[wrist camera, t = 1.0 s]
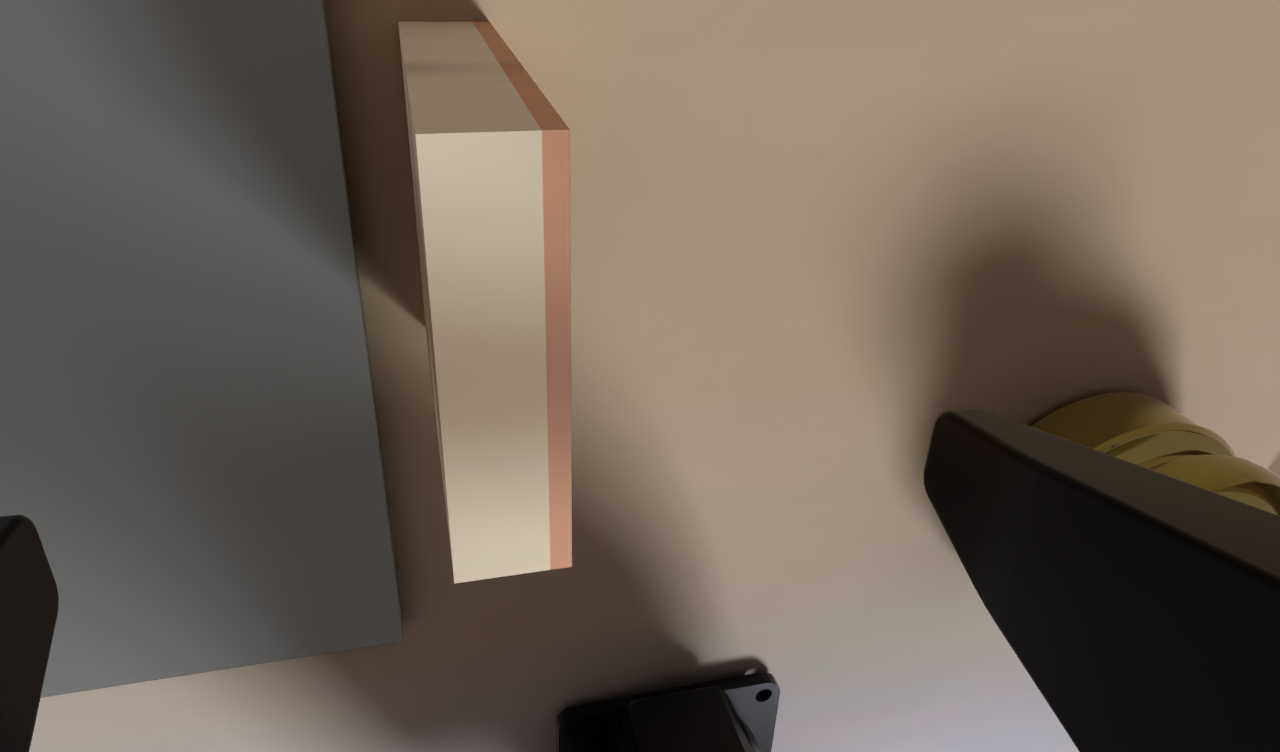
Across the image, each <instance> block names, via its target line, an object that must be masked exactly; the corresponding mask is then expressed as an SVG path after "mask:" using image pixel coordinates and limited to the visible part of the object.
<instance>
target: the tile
mask: <svg viewBox="0 0 1280 752" xmlns="http://www.w3.org/2000/svg"><path fill="white" fill-rule="evenodd" d="M398 27H399V38H400V49H401V60H402V71H403V82H404V94H405V105H406V116H407V127H408V138H409V149H410V160H411V171H412V182H413V193H414V204H415V215H416V226H417V237H418V248H419V259H420V270H421V281H422V292H423V303H424V315H425V326H426V335H427V344H428V353H429V362H430V371H431V380H432V389H433V397H434V406H435V415H436V424H437V433H438V442H439V451H440V460H441V469H442V478H443V487H444V496H445V505H446V514H447V523H448V531H449V540H450V549H451V558H452V567H453V576H454V584H455V583H462V582H469V581H476V580H483V579H490V578H497V577H504V576H511V575H518V574H525V573H532V572H539V571H546V570H553V569H560V568H567V567H572V474H571V281H570V129H569V128H568V127H567V125H566V124H565V123H564V121H563V120H562V119H561V117H560V116H559V115H558V113H557V112H556V111H555V109H554V108H553V107H552V105H551V104H550V102H549V101H548V100H547V98H546V97H545V96H544V94H543V93H542V92H541V90H540V89H539V88H538V86H537V85H536V84H535V82H534V81H533V80H532V78H531V77H530V76H529V74H528V73H527V72H526V70H525V69H524V68H523V66H522V65H521V64H520V62H519V61H518V60H517V58H516V57H515V56H514V54H513V53H512V51H511V50H510V49H509V47H508V46H507V45H506V43H505V42H504V41H503V39H502V38H501V37H500V35H499V34H498V33H497V31H496V30H495V29H494V27H493V26H492V25H491V23H490V22H489V21H481V22H398Z"/></svg>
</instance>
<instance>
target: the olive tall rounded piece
mask: <svg viewBox="0 0 1280 752" xmlns="http://www.w3.org/2000/svg"><path fill="white" fill-rule="evenodd" d="M1031 427H1033V428H1036V429H1039V430H1042V431H1044V432H1047V433H1050V434H1053V435H1056V436H1058V437H1061V438H1064V439H1067V440H1070V441H1072V442H1075V443H1078V444H1081V445H1084V446H1086V447H1089V448H1092V449H1095V450H1097V451H1100V452H1103V453H1106V454H1109V455H1111V456H1114V457H1117V458H1120V459H1123V460H1125V461H1128V462H1131V463H1134V464H1137V465H1139V466H1142V467H1145V468H1148V469H1150V470H1153V471H1156V472H1159V473H1162V474H1164V475H1167V476H1170V477H1173V478H1176V479H1178V480H1181V481H1184V482H1187V483H1189V484H1192V485H1195V486H1198V487H1201V488H1203V489H1206V490H1209V491H1212V492H1215V493H1217V494H1220V495H1223V496H1226V497H1229V498H1231V499H1234V500H1237V501H1240V502H1242V503H1245V504H1248V505H1251V506H1254V507H1256V508H1259V509H1262V510H1265V511H1268V512H1270V513H1273V514H1276V515H1279V516H1280V476H1278V475H1276V474H1275V473H1273V472H1272V471H1270V470H1267V469H1265V468H1263V467H1261V466H1259V465H1257V464H1255V463H1253V462H1250V461H1248V460H1245V459H1242V458H1238V457H1236V456H1235V454H1234V452H1233V450H1232V449H1231V447H1230V446H1229V445H1228V444H1227V442H1226V441H1225V440H1224V439H1223V438H1221V437H1220V436H1219V435H1217V434H1216V433H1214V432H1212V431H1211V430H1208V429H1206V428H1203V427H1200V426H1198V425H1197V424H1195V423H1194V422H1193V421H1191V420H1190V419H1188V418H1187V417H1185V416H1184V415H1182V414H1181V413H1179V412H1178V411H1177V410H1175V409H1174V408H1172V407H1171V406H1169V405H1168V404H1166V403H1165V402H1163V401H1161V400H1159V399H1157V398H1155V397H1152V396H1149V395H1145V394H1140V393H1131V392H1115V393H1107V394H1101V395H1096V396H1092V397H1088V398H1085V399H1082V400H1079V401H1076V402H1074V403H1071V404H1069V405H1066V406H1064V407H1062V408H1060V409H1058V410H1056V411H1054V412H1052V413H1051V414H1049V415H1047V416H1046V417H1044V418H1042V419H1041V420H1039V421H1038V422H1036V423H1035V424H1033V425H1032V426H1031Z"/></svg>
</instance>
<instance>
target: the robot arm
mask: <svg viewBox="0 0 1280 752" xmlns="http://www.w3.org/2000/svg"><path fill="white" fill-rule="evenodd" d="M924 485H925V489H926V492H927V495H928V497H929V499H930V501H931V503H932V505H933V507H934V509H935V511H936V513H937V515H938V517H939V519H940V521H941V523H942V524H943V526H944V528H945V530H946V532H947V534H948V536H949V538H950V540H951V542H952V544H953V546H954V548H955V550H956V552H957V554H958V556H959V558H960V560H961V562H962V564H963V565H964V567H965V569H966V571H967V573H968V575H969V577H970V579H971V581H972V583H973V585H974V587H975V589H976V590H977V592H978V594H979V596H980V598H981V600H982V601H983V603H984V605H985V607H986V608H987V610H988V611H989V613H990V615H991V616H992V618H993V620H994V621H995V623H996V624H997V626H998V627H999V629H1000V630H1001V632H1002V634H1003V635H1004V637H1005V638H1006V640H1007V641H1008V643H1009V644H1010V646H1011V647H1012V649H1013V650H1014V652H1015V653H1016V655H1017V657H1018V658H1019V660H1020V661H1021V663H1022V664H1023V666H1024V667H1025V669H1026V670H1027V672H1028V673H1029V675H1030V676H1031V678H1032V680H1033V681H1034V683H1035V684H1036V686H1037V687H1038V689H1039V690H1040V692H1041V693H1042V695H1043V696H1044V698H1045V699H1046V701H1047V703H1048V704H1049V706H1050V707H1051V709H1052V710H1053V712H1054V713H1055V715H1056V716H1057V718H1058V719H1059V721H1060V722H1061V724H1062V726H1063V727H1064V729H1065V730H1066V732H1067V733H1068V735H1069V736H1070V738H1071V739H1072V741H1073V742H1074V744H1075V745H1076V747H1077V748H1078V750H1079V752H1280V516H1279V515H1276V514H1273V513H1270V512H1268V511H1265V510H1262V509H1259V508H1256V507H1254V506H1251V505H1248V504H1245V503H1242V502H1240V501H1237V500H1234V499H1231V498H1229V497H1226V496H1223V495H1220V494H1217V493H1215V492H1212V491H1209V490H1206V489H1203V488H1201V487H1198V486H1195V485H1192V484H1189V483H1187V482H1184V481H1181V480H1178V479H1176V478H1173V477H1170V476H1167V475H1164V474H1162V473H1159V472H1156V471H1153V470H1150V469H1148V468H1145V467H1142V466H1139V465H1137V464H1134V463H1131V462H1128V461H1125V460H1123V459H1120V458H1117V457H1114V456H1111V455H1109V454H1106V453H1103V452H1100V451H1097V450H1095V449H1092V448H1089V447H1086V446H1084V445H1081V444H1078V443H1075V442H1072V441H1070V440H1067V439H1064V438H1061V437H1058V436H1056V435H1053V434H1050V433H1047V432H1044V431H1042V430H1039V429H1036V428H1033V427H1031V426H1028V425H1025V424H1022V423H1019V422H1017V421H1014V420H1011V419H1008V418H1005V417H1003V416H1000V415H997V414H994V413H992V412H989V411H986V410H983V409H980V408H975V407H969V408H961V409H952V410H946V411H943V412H942V413H940V414H939V415H938V417H937V418H936V420H935V423H934V427H933V432H932V436H931V441H930V446H929V450H928V455H927V459H926V464H925V469H924ZM58 607H59V596H58V589H57V585H56V582H55V579H54V576H53V573H52V570H51V568H50V565H49V562H48V559H47V557H46V554H45V551H44V548H43V545H42V543H41V540H40V537H39V534H38V531H37V529H36V527H35V525H34V524H33V522H32V521H31V520H30V519H29V518H27V517H26V516H23V515H10V516H1V517H0V752H29V749H30V745H31V741H32V736H33V731H34V726H35V722H36V717H37V712H38V707H39V702H40V697H41V692H42V688H43V683H44V678H45V673H46V668H47V663H48V658H49V654H50V649H51V644H52V639H53V634H54V629H55V624H56V620H57V615H58ZM779 695H780V690H779V686H778V684H777V682H776V680H775V678H774V677H773V676H772V675H771V674H769V673H756V674H750V675H745V676H739V677H734V678H728V679H722V680H717V681H711V682H706V683H700V684H694V685H689V686H683V687H678V688H672V689H667V690H661V691H655V692H650V693H644V694H639V695H633V696H627V697H622V698H616V699H611V700H605V701H600V702H594V703H588V704H583V705H577V706H573V707H569V708H567V709H565V710H564V711H562V712H561V713H560V714H559V715H558V717H557V720H556V746H557V752H771V748H772V741H773V735H774V728H775V721H776V715H777V708H778V701H779ZM574 724H576V725H574Z"/></svg>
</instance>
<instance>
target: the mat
mask: <svg viewBox="0 0 1280 752" xmlns="http://www.w3.org/2000/svg"><path fill="white" fill-rule="evenodd" d="M10 515H23V516H26V517H27V518H29V519H30V520H31V521H32V522H33V524H34V525H35V527H36V529H37V531H38V534H39V537H40V540H41V543H42V545H43V548H44V551H45V554H46V557H47V559H48V562H49V565H50V568H51V570H52V573H53V576H54V579H55V582H56V585H57V589H58V596H59V607H58V615H57V620H56V624H55V629H54V634H53V639H52V644H51V649H50V654H49V658H48V663H47V668H46V673H45V678H44V683H43V688H42V692H41V697H40V698H42V697H48V696H55V695H61V694H67V693H74V692H80V691H87V690H93V689H100V688H106V687H112V686H119V685H125V684H132V683H138V682H145V681H151V680H158V679H164V678H170V677H177V676H183V675H190V674H196V673H203V672H209V671H215V670H222V669H228V668H235V667H241V666H248V665H254V664H261V663H267V662H273V661H280V660H286V659H293V658H299V657H306V656H312V655H318V654H325V653H331V652H338V651H344V650H351V649H357V648H363V647H370V646H376V645H383V644H389V643H396V642H402V641H403V624H402V616H401V608H400V600H399V592H398V584H397V576H396V568H395V560H394V552H393V544H392V536H391V528H390V520H389V512H388V505H387V497H386V489H385V481H384V473H383V465H382V457H381V449H380V441H379V433H378V425H377V417H376V409H375V401H374V393H373V386H372V378H371V370H370V362H369V354H368V346H367V338H366V330H365V322H364V314H363V306H362V298H361V290H360V282H359V274H358V267H357V259H356V251H355V243H354V235H353V227H352V219H351V211H350V203H349V195H348V187H347V179H346V171H345V163H344V155H343V148H342V140H341V132H340V124H339V116H338V108H337V100H336V92H335V84H334V76H333V68H332V60H331V52H330V44H329V36H328V29H327V21H326V13H325V5H324V0H0V517H1V516H10Z"/></svg>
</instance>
